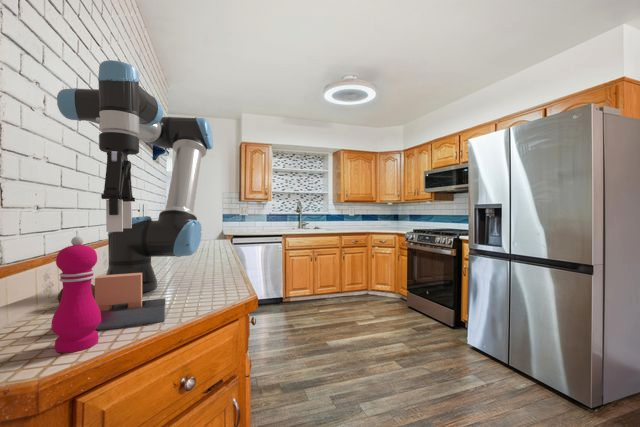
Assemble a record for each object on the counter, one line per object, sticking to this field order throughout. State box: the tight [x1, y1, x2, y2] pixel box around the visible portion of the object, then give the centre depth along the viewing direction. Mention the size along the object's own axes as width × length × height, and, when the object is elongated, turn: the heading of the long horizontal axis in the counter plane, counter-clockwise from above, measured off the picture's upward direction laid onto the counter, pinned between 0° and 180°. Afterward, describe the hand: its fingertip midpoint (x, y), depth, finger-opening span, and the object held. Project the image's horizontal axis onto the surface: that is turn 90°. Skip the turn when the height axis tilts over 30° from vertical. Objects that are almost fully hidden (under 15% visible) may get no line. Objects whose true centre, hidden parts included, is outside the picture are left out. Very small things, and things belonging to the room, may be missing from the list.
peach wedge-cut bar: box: [94, 273, 143, 311], centre depth 69 cm, size 3×8×10 cm, turn 115°
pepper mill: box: [50, 236, 101, 354], centre depth 57 cm, size 7×7×20 cm
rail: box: [95, 297, 166, 331], centre depth 69 cm, size 7×18×4 cm, turn 115°
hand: (120, 230), depth 69 cm, fingers open, 13 cm apart
